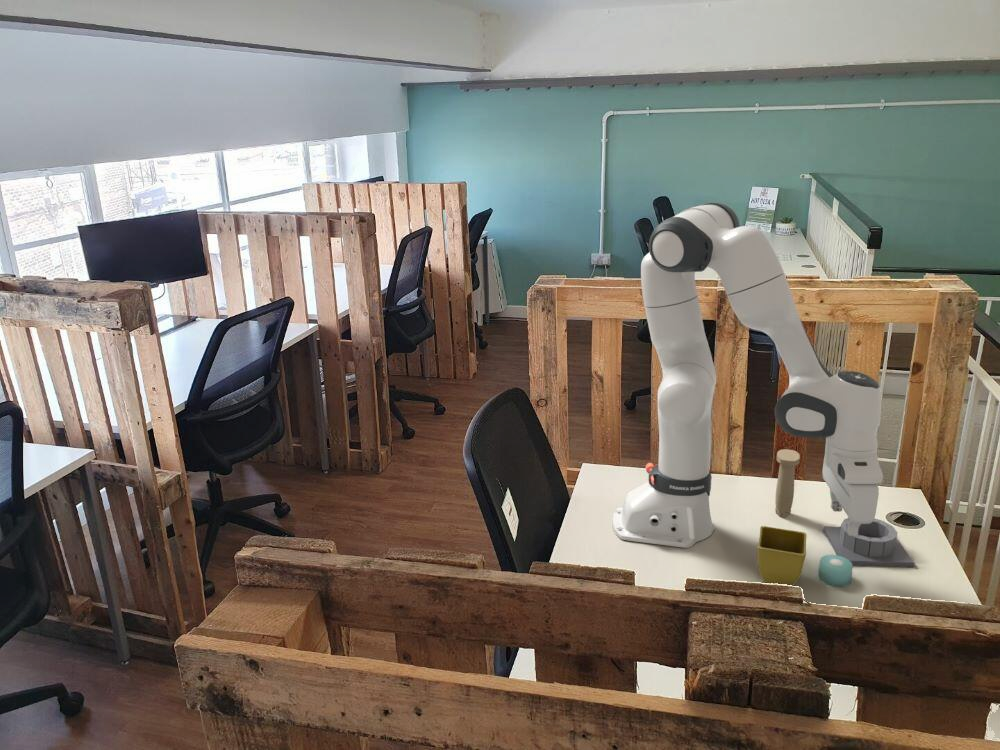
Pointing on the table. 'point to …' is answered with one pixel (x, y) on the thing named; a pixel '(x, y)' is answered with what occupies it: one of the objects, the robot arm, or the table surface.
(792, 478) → the handle
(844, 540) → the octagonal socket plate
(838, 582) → the teal rounded cylinder
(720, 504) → the table surface
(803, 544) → the flower pot
